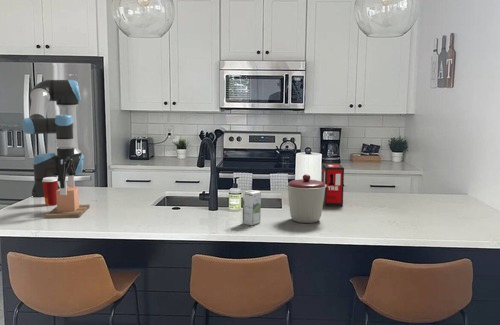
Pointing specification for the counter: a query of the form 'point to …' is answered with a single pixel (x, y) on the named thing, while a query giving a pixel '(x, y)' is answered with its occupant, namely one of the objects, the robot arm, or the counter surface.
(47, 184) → the paper cup
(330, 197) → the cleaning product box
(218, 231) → the counter surface
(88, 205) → the wooden base with block
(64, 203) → the peach bevelled cube
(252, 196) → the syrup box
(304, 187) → the canister
